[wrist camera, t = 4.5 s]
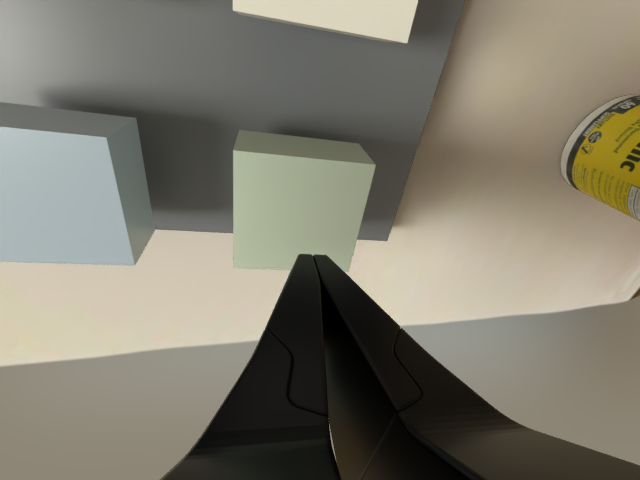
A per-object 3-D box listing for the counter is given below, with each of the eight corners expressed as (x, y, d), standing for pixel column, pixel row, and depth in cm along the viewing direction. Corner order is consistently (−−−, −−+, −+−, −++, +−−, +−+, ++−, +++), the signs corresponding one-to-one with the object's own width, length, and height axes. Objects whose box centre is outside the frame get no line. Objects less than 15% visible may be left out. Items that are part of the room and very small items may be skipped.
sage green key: (358, 143, 13) (376, 164, 11) (337, 239, 15) (348, 271, 13) (239, 129, 12) (232, 150, 10) (238, 234, 14) (233, 268, 12)
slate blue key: (136, 117, 11) (106, 137, 9) (154, 230, 14) (134, 265, 12) (-24, 99, 10) (-98, 116, 8) (28, 224, 13) (-18, 261, 11)
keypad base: (486, -135, 11) (514, -156, 10) (379, 227, 19) (387, 241, 18) (-289, -390, 7) (-408, -482, 6) (-7, 204, 15) (-32, 219, 14)
